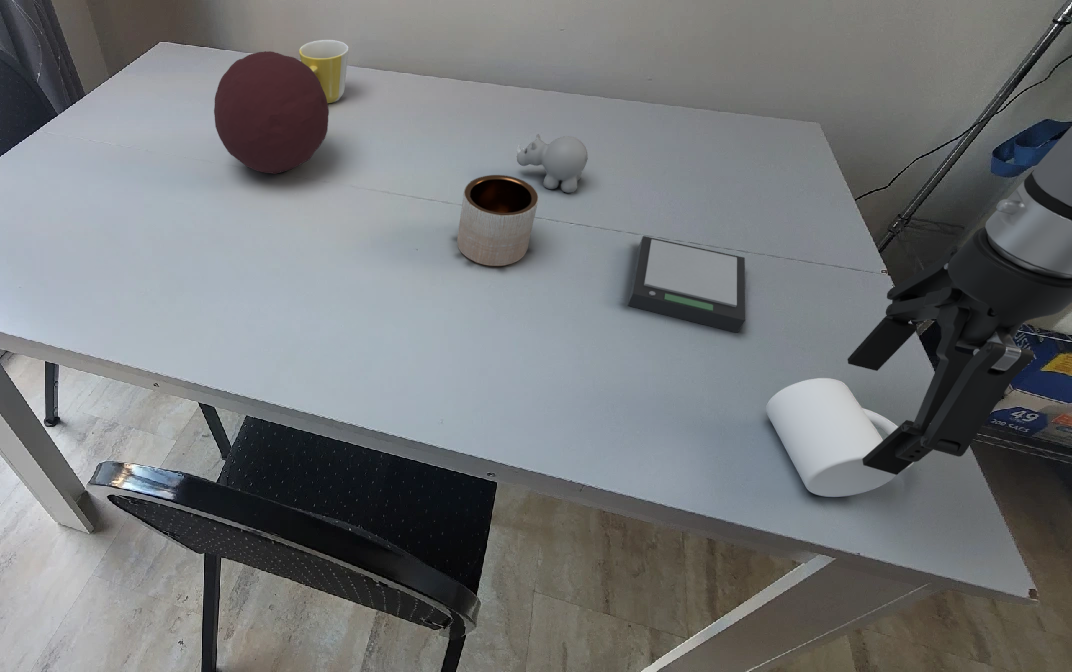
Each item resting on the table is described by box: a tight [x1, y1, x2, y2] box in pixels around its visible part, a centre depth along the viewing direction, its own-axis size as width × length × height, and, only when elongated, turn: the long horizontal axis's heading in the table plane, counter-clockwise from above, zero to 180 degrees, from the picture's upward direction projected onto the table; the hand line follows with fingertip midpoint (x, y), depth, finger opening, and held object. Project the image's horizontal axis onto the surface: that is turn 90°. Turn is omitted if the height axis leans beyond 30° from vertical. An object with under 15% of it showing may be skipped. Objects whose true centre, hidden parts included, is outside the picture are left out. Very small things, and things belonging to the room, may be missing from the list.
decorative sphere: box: [213, 50, 330, 175], centre depth 105 cm, size 20×20×20 cm
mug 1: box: [298, 39, 350, 104], centre depth 126 cm, size 14×10×10 cm
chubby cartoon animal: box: [516, 133, 589, 194], centre depth 103 cm, size 7×12×8 cm, turn 61°
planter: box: [456, 174, 539, 267], centre depth 90 cm, size 11×11×10 cm
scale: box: [627, 235, 746, 334], centre depth 85 cm, size 14×14×3 cm
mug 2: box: [765, 377, 915, 498], centre depth 64 cm, size 12×10×8 cm
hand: (869, 412), depth 61 cm, fingers open, 13 cm apart
